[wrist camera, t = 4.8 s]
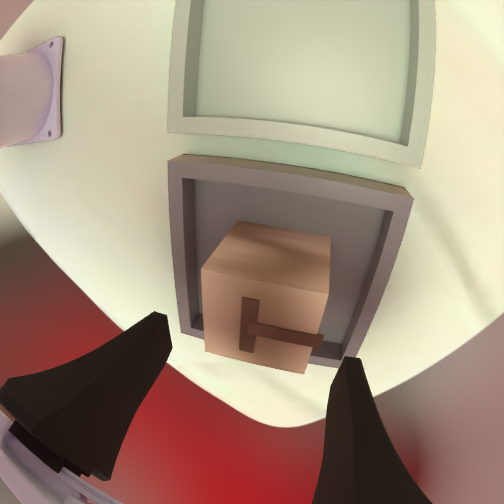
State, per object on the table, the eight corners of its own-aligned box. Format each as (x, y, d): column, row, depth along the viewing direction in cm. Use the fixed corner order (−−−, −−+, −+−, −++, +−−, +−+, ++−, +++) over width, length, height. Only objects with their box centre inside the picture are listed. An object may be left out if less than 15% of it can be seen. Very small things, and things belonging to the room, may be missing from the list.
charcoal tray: (191, 316, 20) (181, 332, 19) (184, 154, 15) (167, 161, 13) (349, 350, 18) (349, 369, 17) (404, 187, 13) (413, 198, 11)
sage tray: (184, 129, 14) (167, 133, 12) (200, -52, 8) (186, -64, 7) (410, 161, 12) (420, 169, 10) (420, -36, 6) (429, -49, 5)
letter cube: (234, 293, 18) (204, 352, 14) (237, 220, 15) (199, 270, 11) (318, 310, 17) (309, 376, 13) (336, 237, 14) (336, 297, 10)
